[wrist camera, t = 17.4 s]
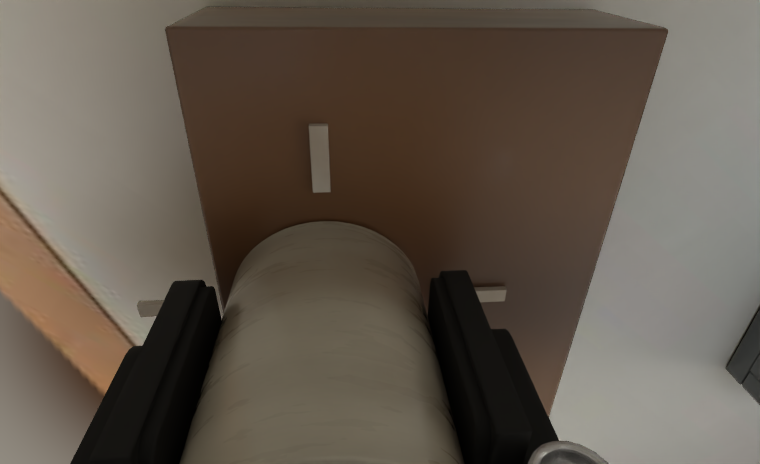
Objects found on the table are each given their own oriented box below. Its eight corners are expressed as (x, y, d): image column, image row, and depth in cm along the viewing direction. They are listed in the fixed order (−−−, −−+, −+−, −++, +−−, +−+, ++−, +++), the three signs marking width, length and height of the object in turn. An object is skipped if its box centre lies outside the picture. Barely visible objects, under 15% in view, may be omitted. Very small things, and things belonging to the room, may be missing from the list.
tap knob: (217, 222, 10) (102, 501, 5) (425, 217, 10) (510, 471, 5) (245, 370, 12) (185, 660, 7) (414, 361, 13) (467, 632, 8)
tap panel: (120, 5, 10) (44, 27, 8) (594, 9, 11) (676, 29, 8) (212, 382, 17) (189, 467, 14) (512, 366, 17) (545, 443, 15)
